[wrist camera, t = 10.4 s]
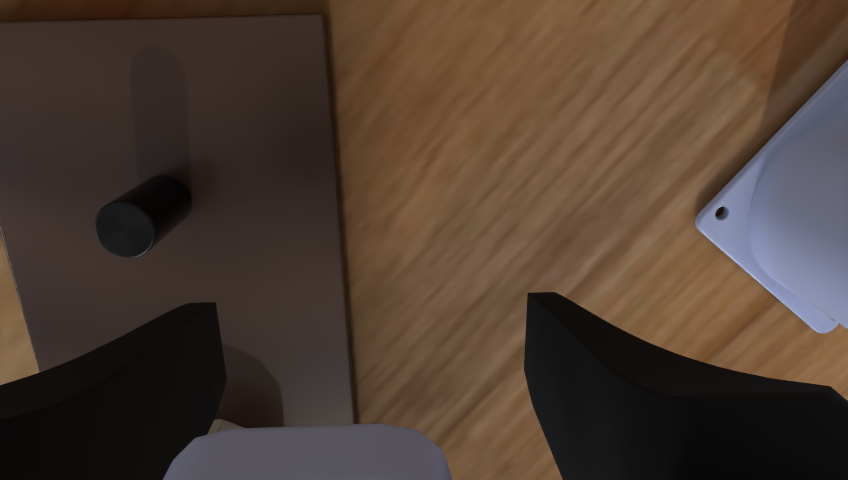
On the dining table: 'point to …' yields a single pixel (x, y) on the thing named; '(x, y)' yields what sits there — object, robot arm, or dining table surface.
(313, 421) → the ring board
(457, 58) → the dining table surface
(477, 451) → the dining table surface
